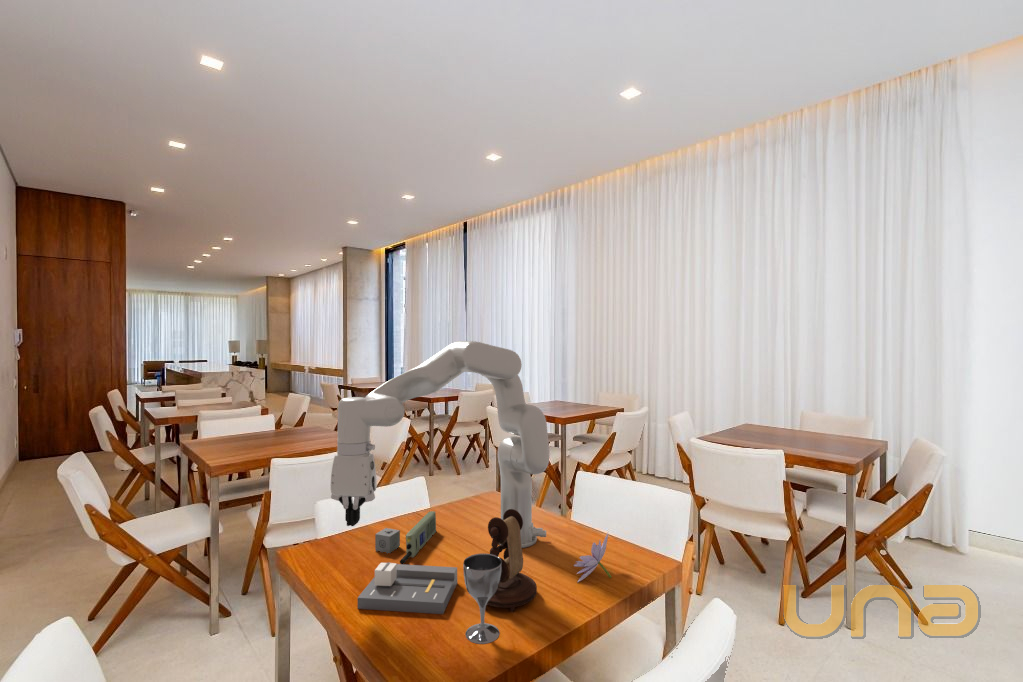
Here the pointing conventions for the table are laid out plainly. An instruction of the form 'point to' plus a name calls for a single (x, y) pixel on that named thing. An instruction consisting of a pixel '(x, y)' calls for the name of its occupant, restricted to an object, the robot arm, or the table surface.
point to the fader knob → (385, 574)
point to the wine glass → (482, 592)
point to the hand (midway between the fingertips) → (352, 523)
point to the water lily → (593, 559)
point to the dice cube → (387, 540)
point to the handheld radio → (419, 535)
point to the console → (412, 590)
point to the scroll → (510, 562)
